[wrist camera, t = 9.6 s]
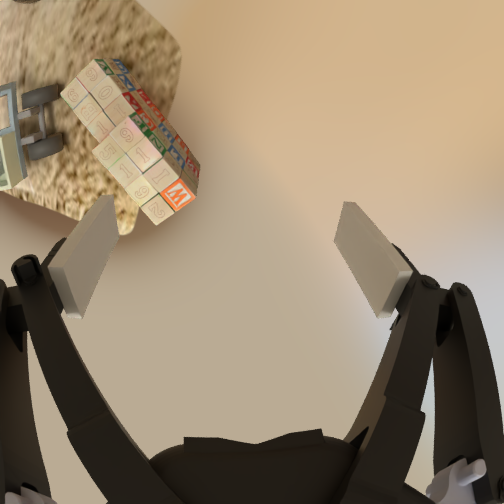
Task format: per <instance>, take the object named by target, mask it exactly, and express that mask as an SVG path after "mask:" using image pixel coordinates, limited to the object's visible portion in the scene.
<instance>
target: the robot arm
mask: <svg viewBox="0 0 504 504" xmlns="http://www.w3.org/2000/svg"><path fill="white" fill-rule="evenodd" d="M13 1H15V2H20V3H33V2H37V1H39V0H13ZM118 239H119V232H118V226H117V219H116V212H115V205H114V197H113V195H101V196H100V197H99V198H98V199H97V201H96V202H95V203H94V204H93V205H92V207H91V208H90V209H89V210H88V212H87V213H86V214H85V215H84V217H83V218H82V219H81V220H80V222H79V223H78V224H77V226H76V227H75V229H74V230H73V231H72V232H71V234H70V235H69V236H68V238H62V239H61V240H60V241H59V242H57V243H56V244H55V246H54V247H53V248H52V250H51V251H50V252H49V254H48V256H47V257H46V258H45V260H44V261H43V263H42V264H41V265H40V263H39V260H38V258H37V257H36V255H33V254H31V255H25V256H22V257H21V258H19V259H17V260H16V261H15V262H14V263H13V265H12V267H11V271H12V274H13V276H14V279H15V281H16V283H17V285H18V286H13V287H8V288H7V286H6V284H5V282H4V281H3V280H1V279H0V504H57V503H56V502H55V501H54V500H53V499H52V498H51V492H50V486H49V482H48V478H47V474H46V470H45V466H44V463H43V459H42V455H41V451H40V446H39V442H38V437H37V432H36V427H35V421H34V415H33V409H32V401H31V393H30V384H29V372H28V354H27V331H29V333H30V336H31V340H32V343H33V346H34V349H35V352H36V355H37V358H38V360H39V364H40V366H41V369H42V371H43V374H44V377H45V379H46V382H47V384H48V387H49V389H50V392H51V394H52V396H53V398H54V401H55V403H56V405H57V407H58V409H59V411H60V413H61V416H62V418H63V420H64V422H65V424H66V426H67V428H68V431H67V435H68V438H69V441H70V443H71V445H72V446H73V448H74V450H75V452H76V453H77V455H78V457H79V459H80V460H81V462H82V463H83V465H84V467H85V468H86V470H87V471H88V473H89V474H90V476H91V478H92V479H93V481H94V482H95V484H96V485H97V487H98V488H99V489H100V491H101V492H102V494H103V495H104V496H105V498H106V499H107V500H108V502H107V503H106V504H502V503H504V434H503V423H502V414H501V406H500V399H499V393H498V387H497V381H496V376H495V371H494V367H493V362H492V358H491V354H490V349H489V346H488V342H487V338H486V335H485V331H484V328H483V324H482V321H481V318H480V315H479V312H478V308H477V305H476V303H475V300H474V297H473V294H472V292H471V290H470V289H469V288H468V287H467V286H465V285H464V284H461V283H457V282H455V283H453V284H452V286H451V288H450V289H449V290H447V289H443V288H440V285H439V284H438V282H437V281H436V280H435V279H433V278H432V277H430V276H427V275H421V274H420V273H419V272H418V271H417V269H416V268H415V267H414V265H413V264H412V263H411V262H410V261H409V259H408V258H407V257H406V256H405V254H404V253H403V252H402V251H401V249H399V248H398V247H397V246H395V245H394V244H393V243H390V242H389V241H388V239H387V238H386V237H385V236H384V235H383V233H382V232H381V231H380V230H379V229H378V227H377V226H376V225H375V224H374V223H373V222H372V221H371V219H370V218H369V217H368V216H367V215H366V214H365V213H364V212H363V210H362V209H361V208H360V207H359V206H358V205H357V204H356V203H355V202H344V204H343V208H342V212H341V216H340V220H339V224H338V227H337V232H336V235H335V239H334V243H335V244H336V246H337V247H338V249H339V251H340V253H341V254H342V256H343V258H344V259H345V261H346V263H347V264H348V266H349V268H350V270H351V271H352V273H353V275H354V277H355V278H356V280H357V282H358V284H359V286H360V287H361V289H362V291H363V293H364V294H365V296H366V298H367V300H368V302H369V304H370V306H371V307H372V309H373V311H374V313H375V315H376V317H377V318H386V317H390V316H391V315H392V313H393V311H394V309H395V308H396V309H397V311H398V313H399V314H398V316H397V317H396V319H395V321H394V323H393V324H392V326H391V328H390V330H392V331H391V334H390V338H389V340H388V343H387V346H386V349H385V352H384V354H383V357H382V359H381V362H380V365H379V367H378V370H377V372H376V375H375V377H374V380H373V382H372V384H371V387H370V389H369V392H368V394H367V396H366V398H365V400H364V403H363V405H362V407H361V409H360V411H359V414H358V416H357V418H356V420H355V422H354V424H353V426H352V428H351V429H350V431H349V433H348V434H347V436H346V437H345V438H344V440H340V439H337V438H334V437H328V436H323V433H322V429H315V430H308V431H302V432H294V433H289V434H286V435H283V436H280V437H277V438H274V439H271V440H268V441H265V442H262V443H259V444H250V443H244V442H238V441H233V440H228V439H223V438H204V437H203V438H202V437H184V444H182V445H177V446H174V447H171V448H168V449H166V450H164V451H162V452H160V453H158V454H156V455H155V456H154V457H153V458H151V459H150V460H149V459H148V458H147V457H146V455H145V454H144V453H143V452H142V450H141V449H140V448H139V447H138V445H137V444H136V443H135V442H134V440H133V439H132V438H131V436H130V435H129V434H128V432H127V431H126V430H125V428H124V427H123V425H122V424H121V423H120V421H119V420H118V418H117V417H116V415H115V414H114V412H113V411H112V409H111V408H110V406H109V405H108V403H107V401H106V400H105V398H104V397H103V395H102V394H101V392H100V390H99V388H98V387H97V385H96V383H95V382H94V380H93V378H92V377H91V375H90V373H89V371H88V369H87V368H86V366H85V364H84V362H83V360H82V358H81V357H80V355H79V353H78V351H77V349H76V347H75V345H74V343H73V341H72V339H71V337H70V334H69V332H68V330H67V328H66V326H65V323H64V321H63V319H62V317H61V313H62V310H63V308H64V310H65V312H66V314H67V316H68V317H69V318H78V319H82V318H83V316H84V313H85V311H86V308H87V306H88V304H89V301H90V299H91V296H92V294H93V292H94V289H95V287H96V285H97V283H98V280H99V278H100V276H101V274H102V272H103V270H104V267H105V265H106V263H107V261H108V259H109V257H110V255H111V253H112V251H113V249H114V247H115V245H116V243H117V241H118ZM432 358H433V371H434V391H435V434H434V456H433V458H434V459H433V464H434V478H433V480H432V483H431V484H430V485H429V486H428V487H427V489H426V495H427V496H425V495H423V494H422V493H420V492H419V491H417V490H416V489H414V488H412V487H411V486H409V485H408V484H406V483H405V482H404V481H405V479H406V476H407V473H408V471H409V468H410V465H411V463H412V460H413V457H414V455H415V451H416V449H417V446H418V442H419V439H420V436H421V433H422V429H423V425H424V422H425V413H424V412H422V411H421V405H422V401H423V397H424V393H425V389H426V385H427V380H428V376H429V371H430V366H431V360H432Z"/></svg>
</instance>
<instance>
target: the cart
mask: <svg viewBox="0 0 504 504" xmlns="http://www.w3.org/2000/svg"><path fill="white" fill-rule="evenodd" d="M6 95H7V97H8V110H9V120H10V127H7V128H4V129H1V130H0V136H1V135H4V134H7V133H10V132H13V131H15V137H16V144H17V150H18V156H19V161H20V166H21V171H22V176H23V179H25V178H26V177H27V176H28V175H27V170H26V165H25V160H24V155H23V149H22V145H25V144H27V149H28V155H29V160H37V159H41V158H44V157H47V156H50V155H53V154H55V153H57V152H59V151H61V150H62V149H63V140H62V133H55V134H50V135H47V134H46V126H45V116H44V105H43V103H46V102H50V101H53V100H57V99H58V84H55V85H50V86H46V87H43V88H39V89H36V90H33V91H29V92H27V93H24V94H22V95H21V96H22V109H27V108H30V107H33V106H36V105H37V106H38V107H35V108H32V109H29V110H26V111H23V112H20V113H18V110H17V97H16V82H11V83H9V84H6V85H2V86H0V97H3V96H6ZM35 114H38V117H39V127H40V132H36V133H32V134H29V135H27V136H25V137H23V138H21V136H20V128H19V120H20V119H23V118H26V117H29V116H32V115H35Z"/></svg>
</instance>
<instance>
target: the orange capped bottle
mask: <svg viewBox="0 0 504 504" xmlns="http://www.w3.org/2000/svg"><path fill="white" fill-rule="evenodd" d="M4 173H5V170H4V165H3V160H2V155H1V149H0V176H1V175H3V174H4Z"/></svg>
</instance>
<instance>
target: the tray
mask: <svg viewBox="0 0 504 504" xmlns="http://www.w3.org/2000/svg"><path fill="white" fill-rule="evenodd" d="M0 149H1V155H2V160H3V165H4V170H5V173H4V174H3V175H1V176H0V191H2V190H7V189H12V188H13V187H14V186H15V185H17V184H18V183H19V182H20V181H22V180H23V176H22V171H21V166H20V161H19V156H18V150H17V144H16V137H15V131H13V132H10V133H7V134H4V135H1V136H0Z"/></svg>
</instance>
